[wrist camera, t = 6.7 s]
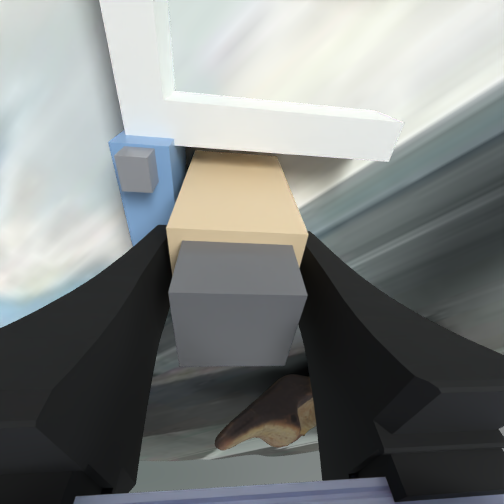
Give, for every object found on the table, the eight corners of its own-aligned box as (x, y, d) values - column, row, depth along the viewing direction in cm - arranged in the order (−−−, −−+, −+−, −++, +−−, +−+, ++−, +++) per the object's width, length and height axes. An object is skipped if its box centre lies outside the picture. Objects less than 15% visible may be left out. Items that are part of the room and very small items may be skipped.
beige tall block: (276, 156, 13) (328, 284, 6) (266, 223, 15) (294, 372, 8) (195, 149, 13) (146, 278, 5) (198, 220, 15) (166, 373, 8)
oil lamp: (337, 433, 40) (356, 501, 34) (185, 363, 24) (170, 465, 18) (497, 380, 32) (561, 459, 26) (419, 228, 16) (528, 332, 10)
